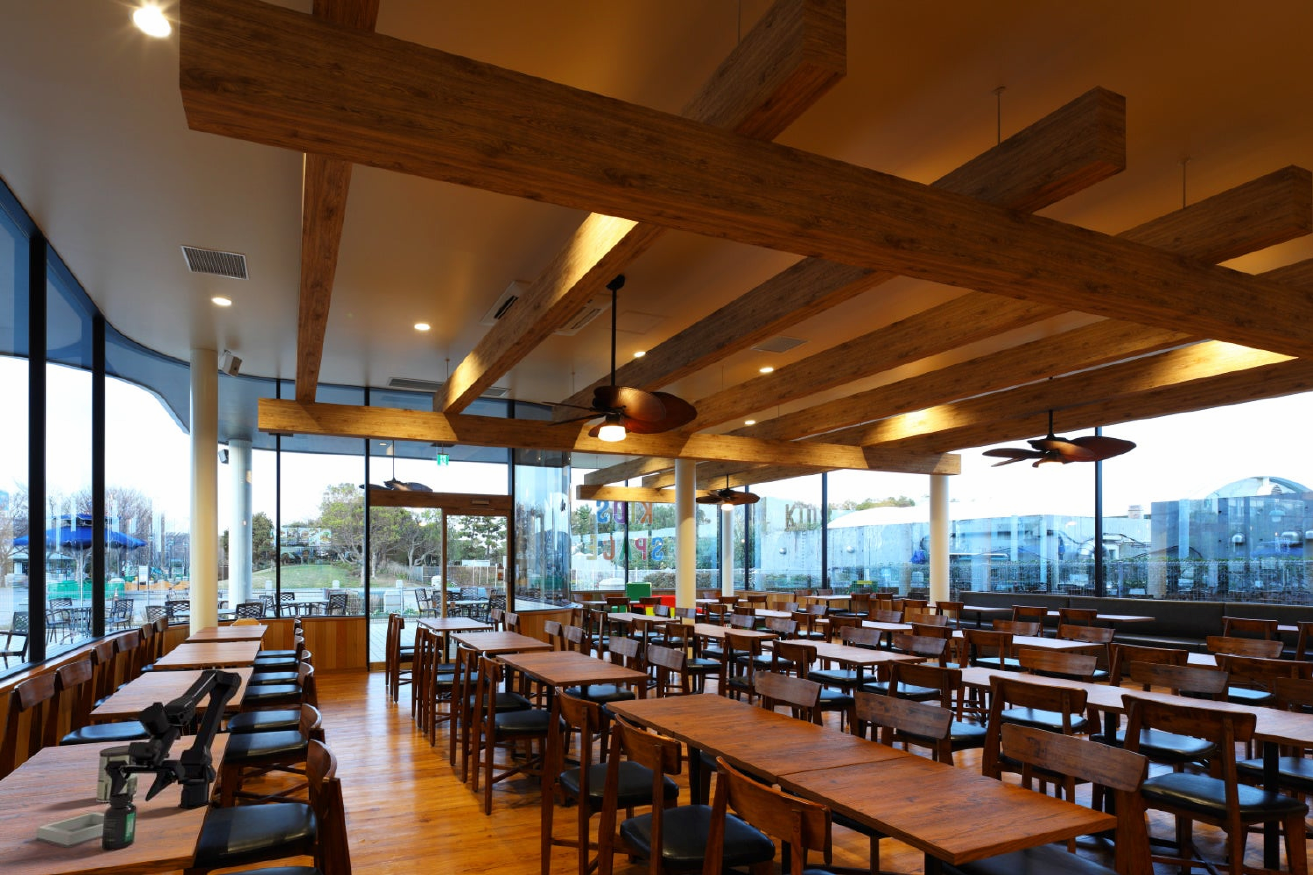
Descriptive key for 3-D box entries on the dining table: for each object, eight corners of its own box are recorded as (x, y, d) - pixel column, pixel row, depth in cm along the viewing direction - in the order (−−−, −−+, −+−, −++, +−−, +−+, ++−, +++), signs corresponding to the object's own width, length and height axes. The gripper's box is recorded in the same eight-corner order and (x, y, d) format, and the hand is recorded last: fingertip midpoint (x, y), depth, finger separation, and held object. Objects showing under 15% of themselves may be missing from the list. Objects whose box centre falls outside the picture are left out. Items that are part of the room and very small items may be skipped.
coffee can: (126, 791, 249) (130, 743, 251) (143, 796, 244) (147, 747, 246) (88, 799, 240) (93, 750, 242) (105, 805, 235) (109, 754, 237)
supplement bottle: (136, 845, 201) (140, 795, 203) (104, 852, 196) (108, 800, 198) (130, 839, 206) (134, 789, 208) (98, 845, 201) (103, 795, 203)
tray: (94, 823, 219) (95, 811, 219) (125, 830, 213) (126, 818, 213) (36, 839, 206) (37, 827, 207) (68, 847, 200) (69, 834, 201)
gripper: (112, 728, 213) (77, 783, 201) (182, 727, 213) (152, 782, 200) (129, 752, 220) (97, 807, 207) (197, 751, 219) (169, 807, 207)
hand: (128, 800), depth 205 cm, fingers open, 9 cm apart
